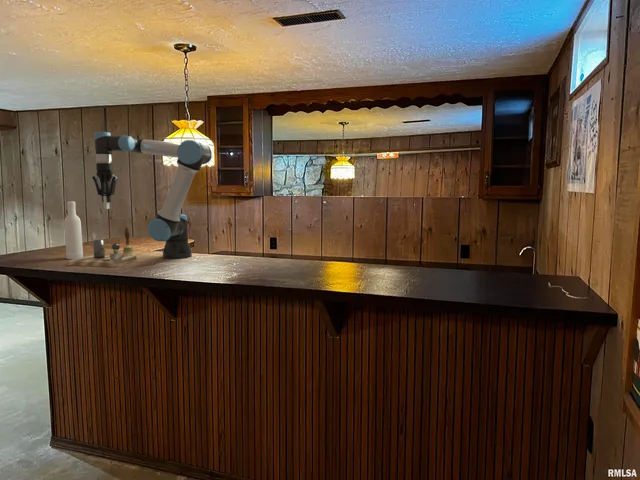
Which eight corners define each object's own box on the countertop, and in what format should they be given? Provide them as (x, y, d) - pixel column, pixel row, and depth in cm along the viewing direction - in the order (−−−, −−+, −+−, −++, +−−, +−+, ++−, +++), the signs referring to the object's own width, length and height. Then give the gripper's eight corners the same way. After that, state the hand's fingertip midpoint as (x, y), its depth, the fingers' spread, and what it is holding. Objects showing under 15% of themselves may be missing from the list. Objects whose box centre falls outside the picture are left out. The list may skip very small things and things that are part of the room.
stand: (136, 260, 235) (135, 244, 234) (117, 266, 217) (116, 250, 216) (89, 258, 238) (88, 243, 237) (67, 265, 220) (65, 249, 219)
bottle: (67, 257, 242) (63, 201, 238) (83, 256, 245) (80, 201, 241) (65, 259, 235) (61, 202, 231) (83, 258, 238) (79, 201, 234)
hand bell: (116, 257, 243) (115, 227, 241) (127, 254, 251) (126, 226, 249) (129, 258, 241) (128, 228, 239) (140, 255, 249) (138, 226, 247)
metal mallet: (91, 258, 228) (90, 240, 227) (99, 256, 233) (98, 239, 231) (115, 259, 224) (114, 241, 222) (123, 258, 228) (122, 240, 227)
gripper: (120, 163, 235) (122, 208, 238) (96, 163, 236) (99, 208, 240) (112, 162, 228) (114, 209, 231) (87, 162, 229) (90, 209, 232)
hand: (106, 208), depth 235 cm, fingers closed
